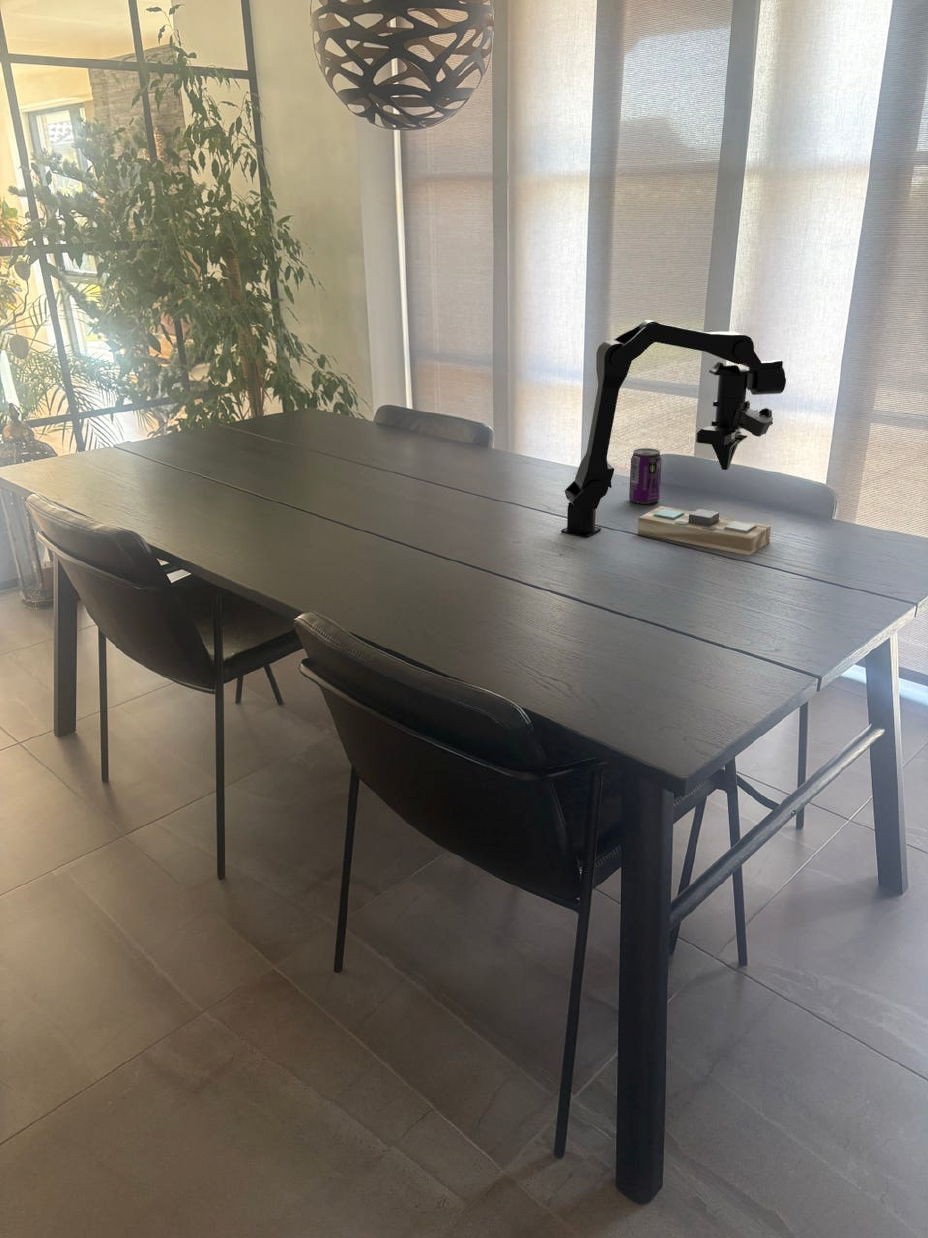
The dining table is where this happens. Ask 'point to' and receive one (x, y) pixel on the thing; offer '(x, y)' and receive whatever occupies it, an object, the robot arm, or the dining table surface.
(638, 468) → the beverage can
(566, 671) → the dining table surface
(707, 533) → the wooden key base
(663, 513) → the key teal
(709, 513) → the gray square block
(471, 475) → the dining table surface
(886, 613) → the dining table surface
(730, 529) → the key grey
